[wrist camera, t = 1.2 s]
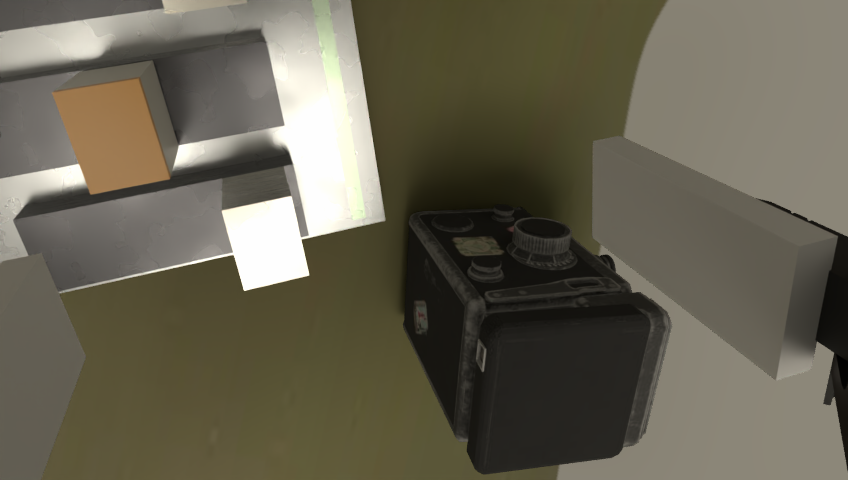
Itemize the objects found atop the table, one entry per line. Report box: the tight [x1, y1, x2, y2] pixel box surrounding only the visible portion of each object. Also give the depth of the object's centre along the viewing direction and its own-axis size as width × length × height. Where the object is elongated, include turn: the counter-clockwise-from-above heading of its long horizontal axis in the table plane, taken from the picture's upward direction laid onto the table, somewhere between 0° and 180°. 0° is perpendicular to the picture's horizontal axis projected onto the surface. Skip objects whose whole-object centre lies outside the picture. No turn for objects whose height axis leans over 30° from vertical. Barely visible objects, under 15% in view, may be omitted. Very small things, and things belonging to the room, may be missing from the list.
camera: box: [403, 204, 672, 475], centre depth 35 cm, size 10×10×15 cm
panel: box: [0, 0, 385, 293], centre depth 28 cm, size 22×18×8 cm
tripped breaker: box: [52, 60, 179, 195], centre depth 26 cm, size 3×4×5 cm
